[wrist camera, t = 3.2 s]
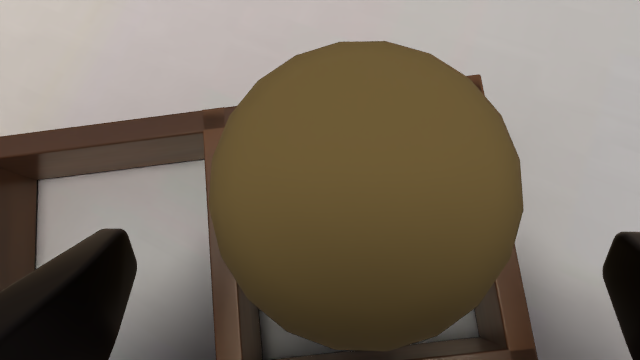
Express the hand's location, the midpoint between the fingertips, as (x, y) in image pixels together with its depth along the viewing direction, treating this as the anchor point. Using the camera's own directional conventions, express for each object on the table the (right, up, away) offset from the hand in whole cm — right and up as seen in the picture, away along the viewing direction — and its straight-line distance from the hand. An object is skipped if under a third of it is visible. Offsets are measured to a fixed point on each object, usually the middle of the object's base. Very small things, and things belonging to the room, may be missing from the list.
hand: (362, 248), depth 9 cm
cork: (+1, -1, +9) cm, 9 cm away
